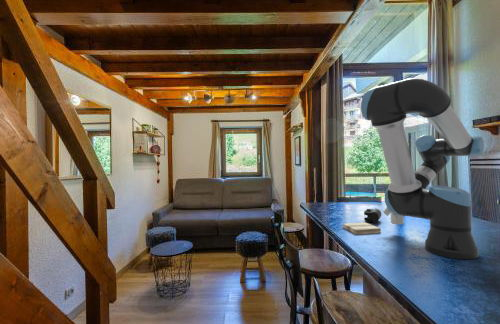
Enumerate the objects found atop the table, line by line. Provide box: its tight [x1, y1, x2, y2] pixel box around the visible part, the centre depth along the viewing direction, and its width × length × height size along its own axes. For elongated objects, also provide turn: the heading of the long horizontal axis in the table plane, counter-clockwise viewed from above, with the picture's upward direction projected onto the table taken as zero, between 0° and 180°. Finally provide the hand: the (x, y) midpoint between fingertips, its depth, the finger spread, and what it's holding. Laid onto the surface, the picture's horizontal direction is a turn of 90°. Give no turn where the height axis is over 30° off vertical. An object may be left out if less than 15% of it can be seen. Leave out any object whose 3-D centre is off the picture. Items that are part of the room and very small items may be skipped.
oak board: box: [342, 221, 382, 235], centre depth 119 cm, size 12×12×2 cm
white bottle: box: [390, 212, 405, 225], centre depth 112 cm, size 5×5×15 cm
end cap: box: [363, 208, 382, 225], centre depth 134 cm, size 10×7×7 cm
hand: (389, 215), depth 112 cm, fingers closed on white bottle, 5 cm apart
